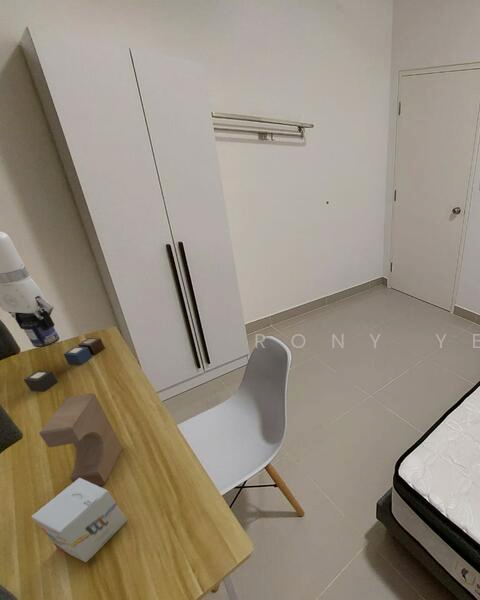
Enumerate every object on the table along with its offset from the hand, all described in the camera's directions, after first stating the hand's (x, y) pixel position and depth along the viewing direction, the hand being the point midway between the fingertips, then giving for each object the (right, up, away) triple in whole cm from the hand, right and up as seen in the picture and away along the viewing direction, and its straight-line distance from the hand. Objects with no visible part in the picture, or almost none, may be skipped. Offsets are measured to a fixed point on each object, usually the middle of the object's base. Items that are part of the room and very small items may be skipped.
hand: (38, 326), depth 102 cm
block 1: (-1, -19, +3) cm, 20 cm away
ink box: (+48, -42, -33) cm, 72 cm away
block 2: (-1, -13, +14) cm, 20 cm away
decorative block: (+38, -34, -20) cm, 55 cm away
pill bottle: (0, -5, +3) cm, 6 cm away
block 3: (-1, -11, +19) cm, 22 cm away
